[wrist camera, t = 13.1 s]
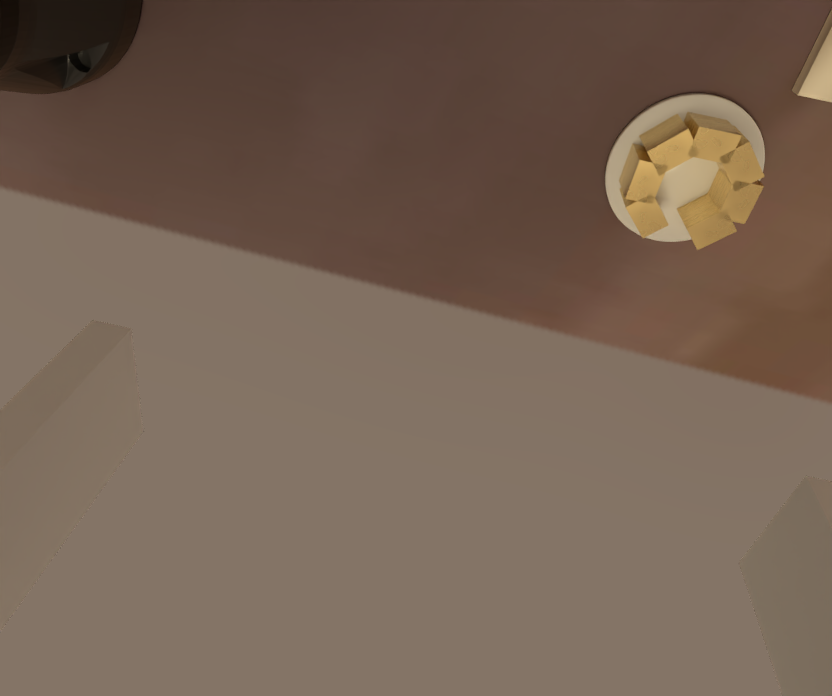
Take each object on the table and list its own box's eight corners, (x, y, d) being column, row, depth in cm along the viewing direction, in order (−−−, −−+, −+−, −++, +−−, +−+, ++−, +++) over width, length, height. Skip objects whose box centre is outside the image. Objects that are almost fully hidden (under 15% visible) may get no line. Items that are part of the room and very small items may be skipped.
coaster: (585, 221, 42) (586, 225, 41) (635, 78, 36) (637, 80, 36) (720, 250, 41) (723, 254, 41) (791, 110, 36) (794, 113, 36)
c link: (647, 103, 36) (656, 117, 34) (767, 128, 36) (785, 144, 34) (607, 212, 40) (612, 231, 38) (715, 235, 40) (727, 256, 38)
